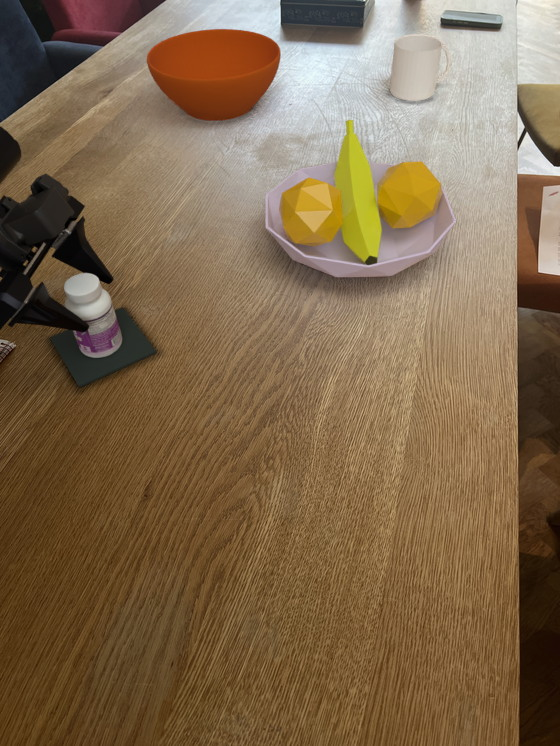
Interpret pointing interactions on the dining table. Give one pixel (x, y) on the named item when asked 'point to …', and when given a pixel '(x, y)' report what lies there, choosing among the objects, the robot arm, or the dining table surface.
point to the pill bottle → (93, 315)
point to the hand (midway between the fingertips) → (100, 304)
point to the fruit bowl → (359, 214)
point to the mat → (96, 368)
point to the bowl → (215, 71)
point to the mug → (417, 66)
